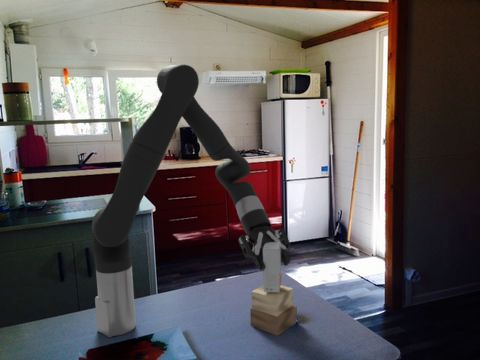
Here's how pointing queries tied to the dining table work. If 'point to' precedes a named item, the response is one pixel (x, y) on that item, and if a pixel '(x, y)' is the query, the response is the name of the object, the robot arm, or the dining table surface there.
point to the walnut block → (274, 320)
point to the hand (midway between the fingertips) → (275, 266)
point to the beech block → (272, 300)
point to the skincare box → (272, 267)
